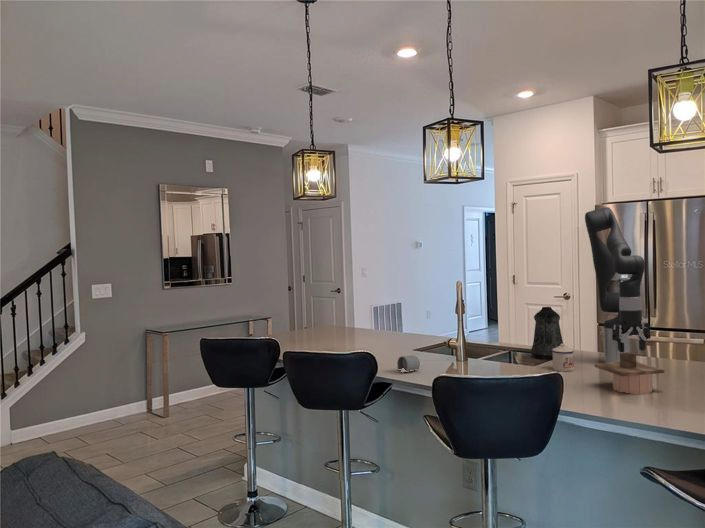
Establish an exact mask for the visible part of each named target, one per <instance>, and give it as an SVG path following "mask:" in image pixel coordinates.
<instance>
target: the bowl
mask: <svg viewBox="0 0 705 528" xmlns="http://www.w3.org/2000/svg"><path fill="white" fill-rule="evenodd" d="M611 374H612V389H613V390H614V391H616V390H617V392H618V393H623V392H625V393H626V394H629V393H630V394H632V395H634V394H635V395H645V394H651V393H653V374H646V375H634V376H620V375H617V374H614V373H611Z"/></svg>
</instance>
